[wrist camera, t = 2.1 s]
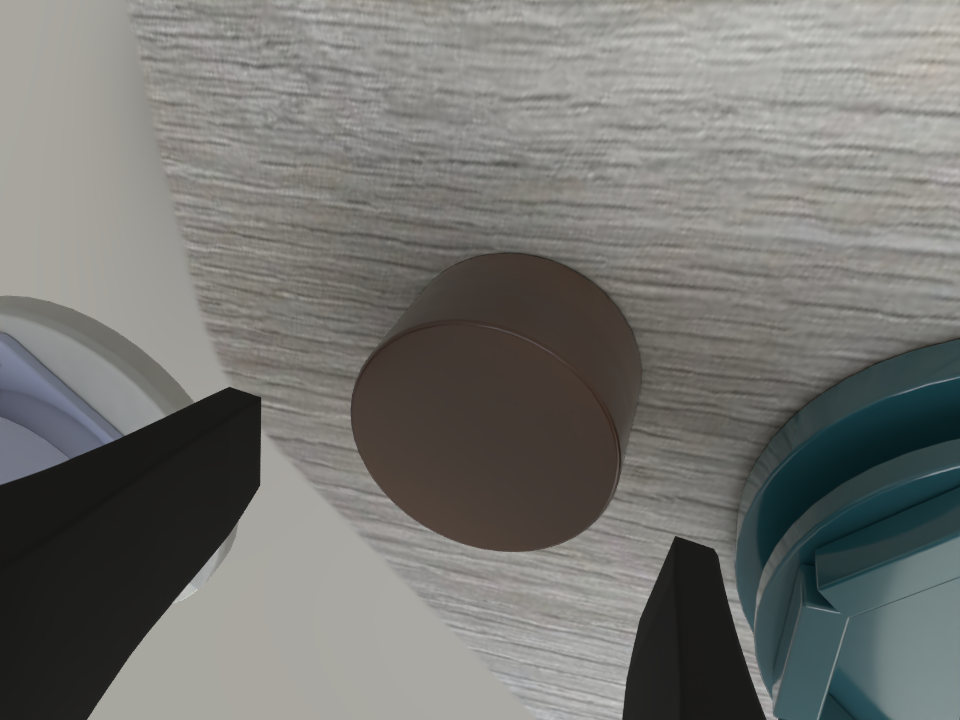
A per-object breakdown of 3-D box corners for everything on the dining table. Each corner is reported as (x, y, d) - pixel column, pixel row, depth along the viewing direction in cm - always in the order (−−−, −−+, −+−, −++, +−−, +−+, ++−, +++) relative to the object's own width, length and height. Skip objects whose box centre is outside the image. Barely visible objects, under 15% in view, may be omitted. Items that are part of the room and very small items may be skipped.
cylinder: (519, 496, 19) (482, 588, 17) (362, 343, 18) (299, 417, 16) (695, 389, 16) (683, 480, 14) (520, 200, 15) (473, 262, 13)
